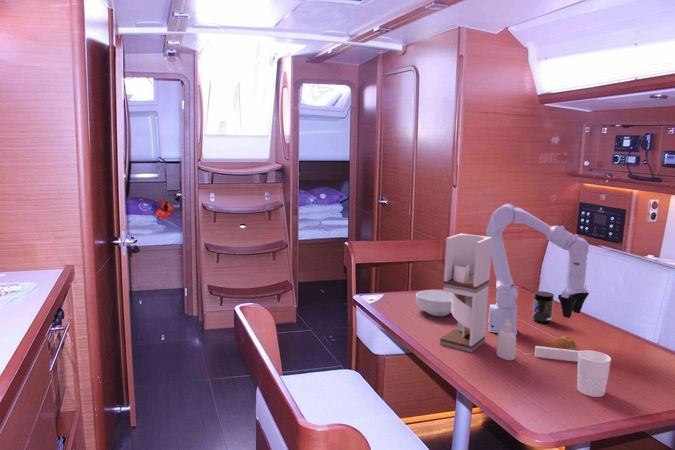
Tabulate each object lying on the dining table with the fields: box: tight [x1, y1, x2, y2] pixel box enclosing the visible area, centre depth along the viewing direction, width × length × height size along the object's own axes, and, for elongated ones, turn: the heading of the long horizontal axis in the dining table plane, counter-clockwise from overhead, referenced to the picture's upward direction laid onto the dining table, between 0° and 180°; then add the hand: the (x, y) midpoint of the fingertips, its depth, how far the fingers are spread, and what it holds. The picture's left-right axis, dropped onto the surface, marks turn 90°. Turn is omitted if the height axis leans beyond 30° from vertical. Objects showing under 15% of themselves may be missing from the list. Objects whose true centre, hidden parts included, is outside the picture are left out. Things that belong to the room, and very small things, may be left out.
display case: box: [439, 233, 492, 353], centre depth 174 cm, size 11×11×35 cm
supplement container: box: [531, 290, 555, 325], centre depth 200 cm, size 7×7×10 cm
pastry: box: [548, 335, 578, 350], centre depth 174 cm, size 9×7×4 cm
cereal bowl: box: [415, 289, 452, 317], centre depth 207 cm, size 17×17×7 cm
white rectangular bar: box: [534, 345, 581, 363], centre depth 166 cm, size 14×2×3 cm, turn 76°
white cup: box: [576, 349, 612, 398], centre depth 144 cm, size 8×8×10 cm
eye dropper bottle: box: [496, 320, 517, 361], centre depth 165 cm, size 4×6×12 cm
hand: (571, 314), depth 180 cm, fingers open, 7 cm apart
